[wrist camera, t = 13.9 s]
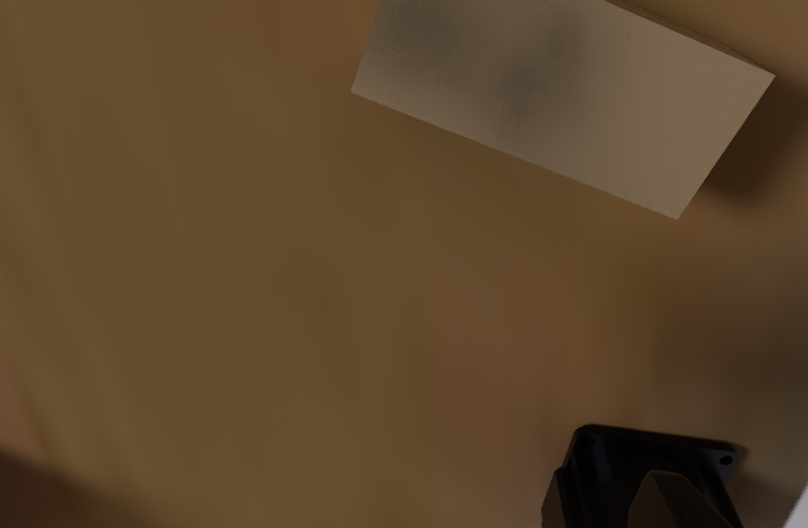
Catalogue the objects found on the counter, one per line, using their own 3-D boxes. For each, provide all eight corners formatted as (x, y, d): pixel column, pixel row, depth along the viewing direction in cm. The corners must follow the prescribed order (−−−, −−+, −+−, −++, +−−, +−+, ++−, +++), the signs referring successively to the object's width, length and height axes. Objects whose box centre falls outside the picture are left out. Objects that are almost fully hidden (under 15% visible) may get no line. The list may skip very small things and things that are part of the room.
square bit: (368, 54, 19) (350, 92, 15) (417, -91, 17) (410, -85, 13) (637, 162, 20) (676, 219, 17) (713, 39, 18) (775, 75, 15)
